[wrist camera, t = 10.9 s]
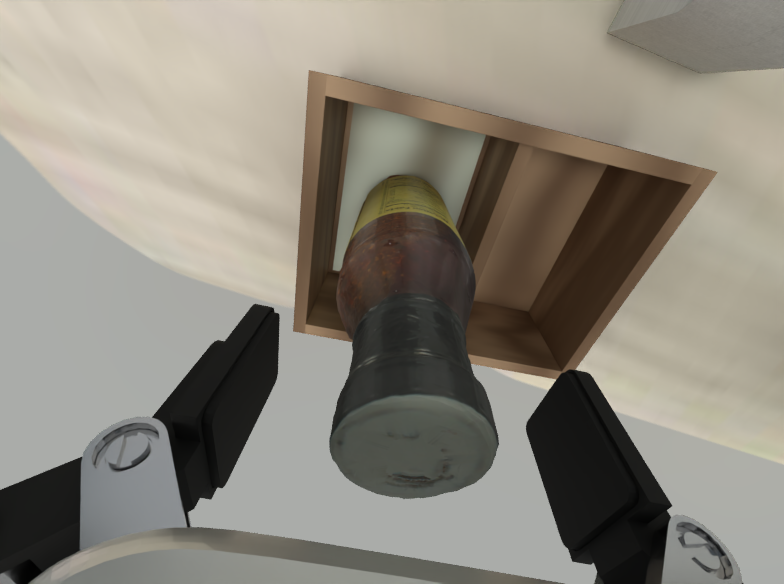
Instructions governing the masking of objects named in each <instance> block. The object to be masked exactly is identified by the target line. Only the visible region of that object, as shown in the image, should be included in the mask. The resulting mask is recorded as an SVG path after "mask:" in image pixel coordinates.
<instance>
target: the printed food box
mask: <svg viewBox="0 0 784 584" xmlns="http://www.w3.org/2000/svg"><path fill="white" fill-rule="evenodd" d="M607 33H609V34H611V35H613V36H615V37H618V38H620V39H622V40H625V41H627V42H629V43H632V44H634V45H636V46H638V47H641V48H643V49H645V50H648V51H650V52H652V53H655V54H657V55H659V56H661V57H664V58H666V59H668V60H671V61H673V62H675V63H678V64H680V65H682V66H684V67H687V68H689V69H691V70H694V71H696V72H698V73H714V72H731V71H747V70H763V69H779V68H784V0H624V1H623V3H622V5H621V7H620V9H619V11H618V13H617V15H616V17H615V18H614V20H613V22H612V24H611V26H610V28H609V30H608V32H607Z"/></svg>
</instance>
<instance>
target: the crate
mask: <svg viewBox="0 0 784 584" xmlns="http://www.w3.org/2000/svg"><path fill="white" fill-rule="evenodd" d="M716 174H717V172H716V171H712V170H708V169H704V168H700V167H696V166H692V165H688V164H685V163H681V162H677V161H673V160H669V159H665V158H661V157H658V156H654V155H650V154H646V153H642V152H638V151H634V150H630V149H627V148H623V147H619V146H615V145H611V144H607V143H603V142H599V141H595V140H591V139H587V138H583V137H579V136H574V135H570V134H566V133H562V132H558V131H554V130H550V129H546V128H542V127H538V126H534V125H530V124H526V123H522V122H518V121H514V120H510V119H506V118H502V117H498V116H494V115H490V114H486V113H482V112H478V111H474V110H470V109H466V108H462V107H458V106H454V105H450V104H446V103H442V102H438V101H434V100H430V99H426V98H422V97H418V96H414V95H410V94H406V93H402V92H398V91H394V90H390V89H386V88H382V87H378V86H374V85H370V84H366V83H362V82H358V81H354V80H350V79H346V78H342V77H338V76H333V75H329V74H324V73H319V72H315V71H310V70H309V77H308V93H307V110H306V127H305V144H304V160H303V177H302V194H301V210H300V227H299V244H298V260H297V277H296V294H295V310H294V328H293V331H295V332H301V333H306V334H311V335H317V336H322V337H328V338H333V339H339V340H344V341H349V342H353V340H351V339H350V338H349V336H348V334H347V332H346V329H345V327H344V324H343V322H342V320H341V316H340V313H339V312H338V306H337V300H336V294H337V286H338V283H337V282H338V279H339V274H340V270H341V268H342V263H343V258H344V254H345V251H346V248H347V246H348V243H349V240H350V237H351V234H352V232H353V229H354V226H355V223H356V220H357V218H358V215H359V212H360V210H361V207H362V205H363V202H364V201H365V200H366V198H367V195H368V193H369V192H370V191H371V190H372V189H373V188H374V187H375V186H376V185H378V184H379V183H380V182H382V181H383V180H385V179H387V178H388V177H389V176H393V175H407V176H415V177H417V178H420V179H422V180H425V181H426V182H428V183H429V184H430V185H431V186H433V187H434V188H435V189H436V190H437V191H438V193H439V194H440V195H441V197H442V199H443V201H444V203H445V205H446V207H447V209H448V212H449V214H450V216H451V218H452V220H453V223H454V225H455V227H456V229H457V231H458V233H459V235H460V237H461V239H462V241H463V243H464V246H465V248H466V250H467V252H468V254H469V256H470V258H471V261H472V265H473V268H474V272H475V280H476V290H475V297H474V301H473V305H472V309H471V313H470V317H469V321H468V325H467V329H466V333H465V335H466V349H467V353H468V357H469V359H470V362H471V364H476V365H481V366H487V367H492V368H498V369H503V370H509V371H514V372H520V373H525V374H531V375H536V376H542V377H547V378H552V379H557V378H558V377H559V376H560V374H561V373H563V372H564V373H565V372H566V371H567V370H569V369H572V370H575V369H576V368H577V366H578V365H579V364H580V362H581V361H582V359H583V358H584V357H585V355H586V354H587V353H588V351H589V350H590V348H591V347H592V346H593V344H594V343H595V341H596V340H597V339H598V337H599V336H600V335H601V333H602V332H603V330H604V329H605V328H606V326H607V325H608V323H609V322H610V321H611V319H612V318H613V316H614V315H615V314H616V312H617V311H618V310H619V308H620V307H621V305H622V304H623V303H624V301H625V300H626V298H627V297H628V296H629V294H630V293H631V292H632V290H633V289H634V287H635V286H636V285H637V283H638V282H639V280H640V279H641V278H642V276H643V275H644V274H645V272H646V271H647V269H648V268H649V267H650V265H651V264H652V262H653V261H654V260H655V258H656V257H657V255H658V254H659V253H660V251H661V250H662V249H663V247H664V246H665V244H666V243H667V242H668V240H669V239H670V237H671V236H672V235H673V233H674V232H675V231H676V229H677V228H678V226H679V225H680V224H681V222H682V221H683V219H684V218H685V217H686V215H687V214H688V212H689V211H690V210H691V208H692V207H693V206H694V204H695V203H696V201H697V200H698V199H699V197H700V196H701V194H702V193H703V192H704V190H705V189H706V188H707V186H708V185H709V183H710V182H711V181H712V179H713V178H714V176H715V175H716Z"/></svg>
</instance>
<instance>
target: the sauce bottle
mask: <svg viewBox="0 0 784 584" xmlns="http://www.w3.org/2000/svg"><path fill="white" fill-rule="evenodd" d="M337 283H338V286H337V294H336V300H337V306H338V312H339V313H340V316H341V320H342V322H343V324H344V327H345V329H346V332H347V334H348V336H349V338H350V339H351V340H353V343H352V347H353V357H352V363H351V367H350V372H349V376H348V379H347V380H346V383H345V386H344V388H343V389H342V391H341V393H340V396H339V398H338V401H337V407H336V411H335V415H334V417H333V424H332V431H331V436H330V453H331V456H332V459H333V460H334V461H335V462H336V464H337V465H338V467H339V469H340V471H341V472H342V473H343V474H344V476H345V477H346V478H348V479H349V480H350V481H352V482H353V483H355V484H356V485H358V486H360V487H362V488H365V489H367V490H369V491H371V492H374V493H376V494H381V495H385V496H390V497H400V498H403V499H405V498H406V499H409V498H426V497H432V496H437V495H440V494H443V493H447V492H453V491H458V490H460V489H462V488H464V487H466V486H469V485H471V484H474V483H475V482H477V481H478V480H479V479H480V478H482V477H483V476H484V475H485V473H486V472H487V471H488V470H489V469H490V468H491V466H492V464H493V460H494V457H495V456H496V451H497V448H498V445H499V442H498V434H497V430H496V426H495V422H494V419H493V414H492V410H491V406H490V402H489V400H488V397H487V394H486V391H485V389H484V387H483V386H482V384H481V383H480V382H479V381H478V380H477V379H476V378H475V376H474V374H473V371H472V368H471V362H470V359H469V357H468V353H467V349H466V335H465V333H466V329H467V325H468V321H469V317H470V313H471V309H472V305H473V301H474V297H475V290H476V280H475V272H474V268H473V265H472V261H471V258H470V256H469V254H468V252H467V250H466V248H465V246H464V243H463V241H462V239H461V237H460V235H459V233H458V231H457V229H456V227H455V225H454V223H453V220H452V218H451V216H450V214H449V212H448V209H447V207H446V205H445V203H444V201H443V199H442V197H441V195H440V194H439V193H438V191H437V190H436V189H435V188H434V187H433V186H431V185H430V184H429V183H428V182H426V181H425V180H422V179H420V178H417V177H415V176H407V175H393V176H389V177H388V178H387V179H385V180H383V181H382V182H380V183H379V184H378V185H376V186H375V187H374V188H373V189H372V190H371V191H370V192H369V193H368V195H367V198H366V200H365V201H364V202H363V205H362V207H361V210H360V212H359V215H358V218H357V220H356V223H355V226H354V229H353V232H352V234H351V237H350V240H349V243H348V246H347V248H346V251H345V254H344V258H343V263H342V268H341V270H340V274H339V279H338V282H337Z"/></svg>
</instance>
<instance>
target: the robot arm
mask: <svg viewBox="0 0 784 584" xmlns="http://www.w3.org/2000/svg"><path fill="white" fill-rule="evenodd" d="M278 347H279V314H278V313H274V308H272V307H268V306H262V305H258V304H254V305H253V306H252V307H251V308H250V310H249V311H248V312H247V313H246V315H245V316H244V317H243V319H242V320H241V321H240V322H239V324H238V325H237V326H236V328H235V329H234V330H233V331H232V333H231V334H230V336H229V337H228V338H227V339H226V341H219V340H217V341H215V342H214V343H213V344H212V345H211V346H210V347H209V348H208V349H207V351H206V352H205V353H204V354H203V355H202V357H201V358H200V359H199V360H198V362H197V363H196V364H195V365H194V366H193V368H192V369H191V370H190V372H189V373H188V374H187V375H186V376H185V378H184V379H183V380H182V381H181V382H180V384H179V385H178V386H177V387H176V389H175V390H174V391H173V392H172V394H171V395H170V396H169V397H168V398H167V400H166V401H165V402H164V403H163V405H162V406H161V407H160V408H159V409H158V411H157V412H156V413H155V414H154V416H153V417H152V418H150V417H135V418H130V419H126V420H123V421H121V422H118V423H116V424H113V425H111V426H110V427H108V428H107V429H105V430H104V431H102V432H101V433H99V434H98V435H97V436H96V437H95V438H94V439H93V440H92V441H91V442H90V443H89V445H88V446H87V448H86V450H85V451H84V453H83V457H80V458H78V459H75V460H73V461H70V462H68V463H65V464H63V465H60V466H58V467H56V468H53V469H51V470H48V471H46V472H43V473H41V474H38V475H36V476H33V477H31V478H29V479H26V480H24V481H21V482H19V483H16V484H14V485H11V486H9V487H6V488H4V489H2V490H0V584H563V583H558V582H552V581H546V580H540V579H534V578H529V577H522V576H517V575H511V574H505V573H499V572H494V571H487V570H481V569H476V568H470V567H464V566H458V565H452V564H446V563H440V562H434V561H428V560H421V559H416V558H410V557H404V556H398V555H392V554H386V553H380V552H373V551H366V550H360V549H354V548H349V547H342V546H336V545H330V544H324V543H318V542H311V541H305V540H299V539H292V538H285V537H278V536H271V535H264V534H257V533H250V532H243V531H236V530H224V529H213V528H202V527H201V528H199V527H197V528H194V527H191V523H190V518H189V513H188V512H189V511H191V510H193V509H194V508H195V506H196V504H197V502H198V500H199V498H205V499H212V497H213V495H214V492H215V491H216V489H217V487H219V488H223V487H224V486H225V484H226V483H227V481H228V479H229V477H230V474H231V473H232V471H233V469H234V467H235V465H236V462H237V460H238V458H239V456H240V454H241V452H242V450H243V448H244V446H245V444H246V442H247V440H248V438H249V436H250V434H251V432H252V430H253V427H254V425H255V423H256V421H257V419H258V417H259V415H260V413H261V411H262V409H263V407H264V405H265V403H266V401H267V399H268V397H269V395H270V392H271V390H272V388H273V386H274V384H275V382H276V379H277V374H278V350H279V348H278ZM526 432H527V435H528V438H529V442H530V444H531V448H532V451H533V454H534V457H535V460H536V463H537V466H538V469H539V472H540V475H541V478H542V481H543V485H544V488H545V491H546V493H547V497H548V500H549V503H550V506H551V509H552V512H553V515H554V518H555V521H556V524H557V528H558V531H559V534H560V537H561V540H562V542H563V544H564V545H565V546H566V547H567V548H568V550H569V553H570V555H571V559H572V561H573V562H578V563H584V564H592V563H594V564H595V567H596V569H597V575H596V579H595V583H594V584H743V583H742V577H741V573H740V569H739V567H738V565H737V563H736V561H735V559H734V557H733V556H732V554H731V553H730V552H729V550H728V549H727V548H726V546H725V545H724V544H723V543H722V542H721V541H720V540H719V539H718V538H717V537H716V535H714V534H713V533H712V532H711V531H710V530H708V529H707V528H706V527H705V526H704V525H702V524H700V523H699V522H697V521H696V520H694V519H691V518H689V517H687V516H684V515H675V516H673V517H670V515H669V513H668V512H667V510H668V509H669V508H670V507H671V506H672V505H671V503H670V501H669V500H668V498H667V497H666V495H665V493H664V492H663V490H662V489H661V487H660V486H659V484H658V482H657V481H656V479H655V477H654V476H653V474H652V472H651V471H650V469H649V468H648V466H647V465H646V463H645V461H644V460H643V458H642V456H641V455H640V453H639V452H638V450H637V448H636V447H635V445H634V443H633V442H632V440H631V439H630V437H629V435H628V434H627V432H626V431H625V429H624V427H623V426H622V424H621V423H620V421H619V419H618V418H617V416H616V414H615V413H614V411H613V410H612V408H611V406H610V405H609V403H608V402H607V400H606V398H605V397H604V395H603V393H602V392H601V390H600V389H599V387H598V385H597V384H596V382H595V381H594V379H593V377H592V376H591V375H590V374H589V373H587V372H582V371H577V370H572V369H569V370H567V371H566V372H565V373H564V372H563V373H561V374H560V376H559V377H558V378H557V380H556V381H555V383H554V384H553V386H552V387H551V388H550V390H549V391H548V393H547V394H546V396H545V397H544V399H543V400H542V402H541V403H540V404H539V406H538V407H537V409H536V410H535V412H534V413H533V414H532V416H531V417H530V419H529V420H528V422H527V425H526Z"/></svg>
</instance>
